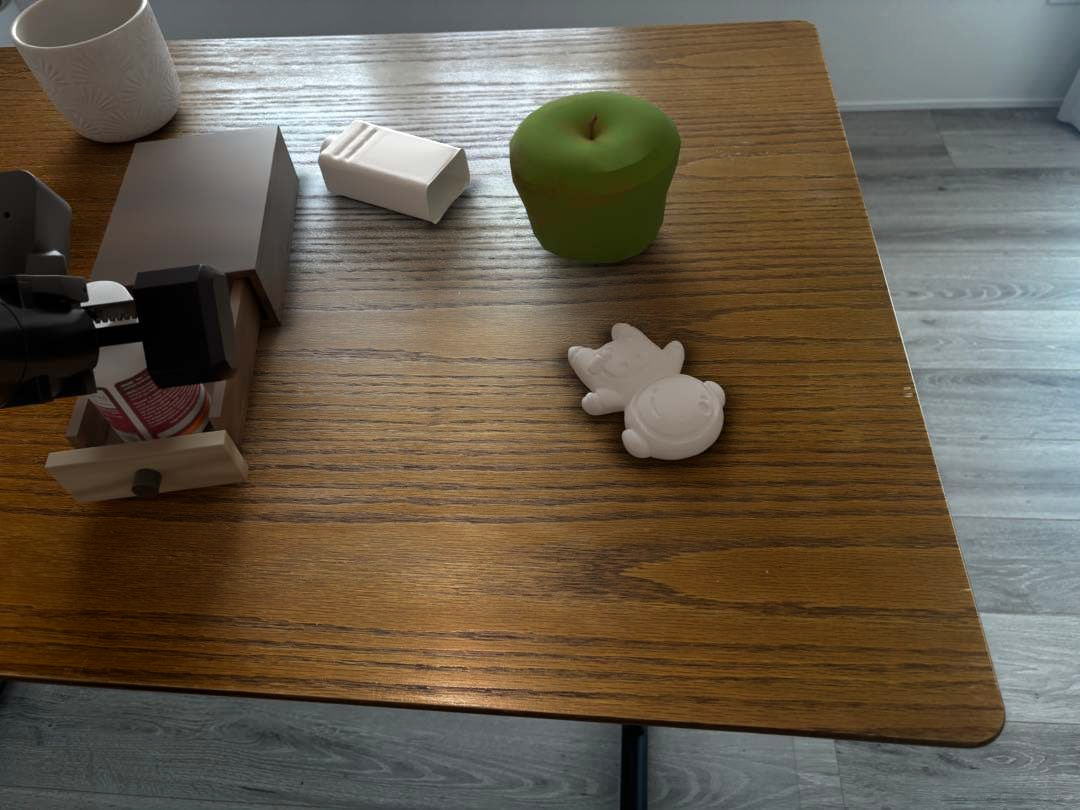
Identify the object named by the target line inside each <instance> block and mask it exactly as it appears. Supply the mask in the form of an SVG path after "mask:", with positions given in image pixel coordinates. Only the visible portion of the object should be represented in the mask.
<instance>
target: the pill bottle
mask: <svg viewBox="0 0 1080 810" xmlns="http://www.w3.org/2000/svg"><path fill="white" fill-rule="evenodd" d="M86 285H87V290H88V296H89V301H88V302H85V303H81V306H88V305H96V304H103V303H111V302H119V301H126V300H134V299H133V298H132V297H131V295H130V294H129V292H128V291H127V290H126V289H125V288H124V287H123V286H122V285H120V284H118V283H116V282H112V281H97V282H91V283H88V282H87V283H86ZM131 323H139V322H138V317H137V319H132V317H131V316H130V320H125V319H124V317H123V321H118V320H117V319H116V320H115V322H110V320H109V319H108V323H103V322H102V320H101V324H95V322H94V324H95V327H96V328H100V327H108V326H116V325H123V324H131ZM93 372H94V377H95V382H96V387H97V393H95V394H90V395H86V396H87V397H88V398H89V399H90V400H91V402H92V403H93V404H94V405H95V407H96V408H97V409H98V410H99V411H100V413H101V414H102V415H103V416H104V418H105V419H106V420H107V421H108V422H109V424H110V425H111V426H112V428H113V429H114V430H115V431H116V432H117V434H118V435H119V436H120V437H121V439H122V440H123V441H124V442H125V443H130V442H138V441H146V440H153V439H161V438H169V437H176V436H184V435H191V434H199V433H202V431H203V430H204V429H205V427H206V426H207V424H208V422H209V419H208V416H209V410H210V405H211V398H210V396H209V394H208V392H207V390H206V389H205V387H204V386H203V384H195V385H188V386H180V387H172V388H165V389H158V387H157V386H156V385H155V383H154V382H153V380H152V379H151V377H150V376H149V374H148V371H147V366H146V360H145V355H144V349H143V344H142V342H139V343H131V344H123V345H116V346H108V347H101V348H100V353H99V359H98V363H97V366H96V367H95V368H94V369H93Z"/></svg>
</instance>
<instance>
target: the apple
mask: <svg viewBox="0 0 1080 810" xmlns="http://www.w3.org/2000/svg"><path fill="white" fill-rule="evenodd" d="M676 124H677V123H676V122H675V121H674V120H673V119H672V118H671V117H670V116H669V115H668V114H667V113H665V112H664V111H663V110H662V109H661V108H660V107H659V106H657V105H656V104H654V103H652V102H650V101H648V100H646V99H643V98H640V97H638V96H637V97H636V96H634V95H631V94H626V93H622V92H613V91H612V92H611V91H602V90H596V91H589V92H582V93H575V94H570V95H567V96H564V97H560V98H558V99H554V100H551V101H548V102H546V103H545V104H543V105H541V106H540V107H538V108H537V109H535V110H534V111H532V112H531V113H529V114H528V115H527V116H526V117H524V119H523V120H522V121H520V123H519V124H518V126H517V128H516V129H515V132H514V133H513V135H512V137H511V139H510V140H509V143H508V149H509V167H510V173H511V180H512V183H513V186H514V187H515V190H516V192H517V194H518V197H519V198H520V200H521V203H522V204H523V207H524V208H525V212H526V215H527V218H528V221H529V224H530V227H531V231H532V234H533V236H534V237H535V239H536V240H537V241H538V242H539V244H540V246H541V247H542V249H543V250H544V251H546V252H548V253H551V254H553V255H554V256H557V257H559V258H561V259H563V260H566V261H572V262H577V263H584V264H588V265H593V264H595V265H596V264H609V263H610V264H611V263H618V262H621V261H624V260H626V259H628V258H632V257H634V256H636V255H639V254H641V253H642V252H643V251H644V250H645V249H646V248H647V247H648V246H649V245H651V244H652V243H653V242H654V241H655V240H656V239H657V237H658V234H659V232H660V230H661V227H662V226H663V223H664V218H665V212H666V211H665V209H666V204H667V198H668V197H667V196H668V193H669V189H670V186H671V185H672V184H671V183H672V181H673V178H674V176H675V173H676V170H677V167H678V164H679V157H680V151H681V145H682V140H681V136H680V133H679V130H678V127H677V125H676Z"/></svg>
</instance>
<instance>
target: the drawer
mask: <svg viewBox="0 0 1080 810" xmlns="http://www.w3.org/2000/svg"><path fill="white" fill-rule="evenodd" d="M227 285H228V291H229V297H230V303H231V309H232V315H233V321H234V326H235V332H236V338H237V344H238V350H239V356H240V362H241V368H240V370H239V371H238V372H237V374H236V375H235V376H234V378H232V379H228V380H224V381H218V382H211V383H203V386H204V387H205V389H206V390H207V392H208V394H209V396H210V398H211V405H210V410H209V416H208V419H209V422H208V424H207V426H206V427H205V429H204V430H203V431H202V433H199V434H191V435H184V436H176V437H169V438H161V439H153V440H146V441H138V442H130V443H125V442H124V441H123V440H122V439H121V437H120V436H119V435H118V434H117V432H116V431H115V430H114V429H113V428H112V426H111V425H110V424H109V422H108V421H107V420H106V419H105V418H104V416H103V415H102V414H101V413H100V411H99V410H98V409H97V408H96V407H95V405H94V404H93V403H92V402H91V400H90V399H89V398H88V397H87V396H86V395H83V396H76V400H75V403H74V407H73V410H72V412H71V416H70V418H69V419H70V420H69V423H68V425H67V429H66V432H65V436H64V439H65V440H66V441H68V443H69V444H70V445H71V446H72V447H73V448H74V449H70V450H62V451H55V452H54V451H53V452H49V453H48V456H47V459H46V462H45V465H44V469H45V470H46V472H48V473H49V475H50V476H51V477H52V478H53V479H54V480H55V481H56V482H57V483H58V484H59V486H61V487H62V488H63V489H64V491H66V492H67V494H69V495H70V496H71V497H72V498H73V499H74V500H75V502H77V503H78V504H85V503H93V502H100V501H109V500H115V499H123V498H130V497H131V498H132V497H140V498H147V499H148V498H149V499H150V498H154V497H156V496H158V495H159V494H161V493H169V492H178V491H185V490H193V489H199V488H207V487H214V486H215V487H216V486H222V485H231V484H238V483H246V482H248V478H249V477H248V475H249V470H250V469H249V468H250V467H249V465H248V464H247V462H246V460H245V458H244V457H243V456H242V454H241V451H242V447H243V438H244V433H245V426H246V420H247V413H248V406H249V399H250V393H251V388H252V387H251V385H252V380H253V372H254V366H255V360H256V354H257V353H256V352H257V346H258V339H259V333H260V332H259V331H260V328H259V326H260V319H261V313H262V306H263V305H262V303H261V301H260V299H259V297H258V295H257V293H256V290H255V288H254V286H253V284H252V282H251V280H250V278H249V277H245V278H237V279H229V280H227ZM129 294H130V295H131V297H132V298H133V299H134V295H133V292H130V293H129Z"/></svg>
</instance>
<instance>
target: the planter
mask: <svg viewBox="0 0 1080 810" xmlns="http://www.w3.org/2000/svg"><path fill="white" fill-rule="evenodd" d="M9 38H10V41H11V43H12V44H13V45H14V46H15V48H16V49H17V51H18V53H19V54H20V56H21V57H22V59H23V61H24V62H25V64H26V65H27V68H28V69H29V70H30V72H31V73H32V76H34V77H35V79H36V81H37V83H38V84H39V85H40V87H41V88H42V90H43V91H44V94H45V95H47V97H48V99H49V100H50V102H51V103H52V105H53V106H54V108H55V109H56V110H57V112H58V113H59V114H60V116H61V117H62V119H64V121H65V122H66V123H67V124H68V125H69V126H70V128H72V129H73V130H74V131H75V132H76V133H78V134H79V135H80V136H82V137H83V138H86V139H89V140H91V141H94V142H99V143H109V144H110V143H113V144H114V143H124V142H125V143H126V142H130V141H135V140H137V139H140V138H143V137H147V136H148V135H151V134H153V133H154V132H156V131H158V130H159V129H162V127H164V126H165V125H166V124H167V123H168V122H169V121H170V120H172V119H173V117H175V115H176V113H177V111H178V110H179V108H180V105H181V102H182V87H181V84H180V79H179V75H178V72H177V69H176V66H175V63H174V61H173V58H172V56H171V55H172V54H171V52H170V50H169V48H168V46H167V43H166V40H165V38H164V36H163V33H162V30H161V28H160V26H159V23H158V21H157V19H156V16H155V14H154V12H153V9H152V6H151V4H150V2H149V0H37V1H36V2H34V3H32V4H30V5H29V6H27V7H26V8H25V9H24V10H22V11H21V12H20V13H19V14H18V15H17V17H15V18H14V20H13V21H12V23H11V25H10V27H9Z"/></svg>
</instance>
